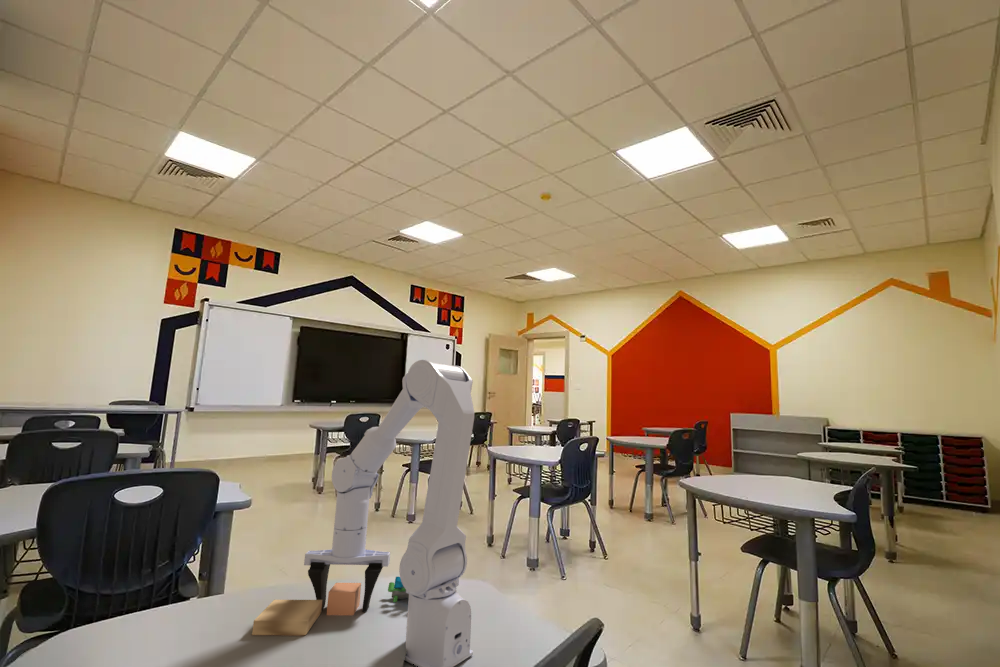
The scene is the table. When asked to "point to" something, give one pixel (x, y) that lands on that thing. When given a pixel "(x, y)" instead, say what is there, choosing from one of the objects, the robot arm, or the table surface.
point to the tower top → (287, 617)
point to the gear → (397, 590)
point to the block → (343, 599)
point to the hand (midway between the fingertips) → (343, 608)
